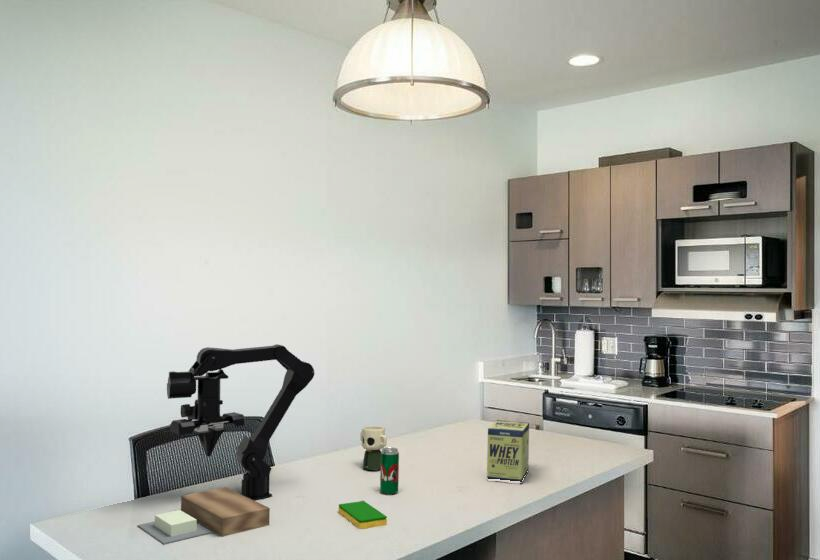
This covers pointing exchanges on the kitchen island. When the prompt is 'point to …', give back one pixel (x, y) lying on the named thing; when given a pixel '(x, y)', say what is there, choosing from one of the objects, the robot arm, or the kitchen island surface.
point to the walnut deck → (225, 511)
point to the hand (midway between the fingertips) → (208, 456)
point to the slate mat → (166, 539)
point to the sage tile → (175, 523)
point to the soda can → (389, 470)
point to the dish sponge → (362, 514)
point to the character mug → (373, 445)
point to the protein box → (508, 450)
